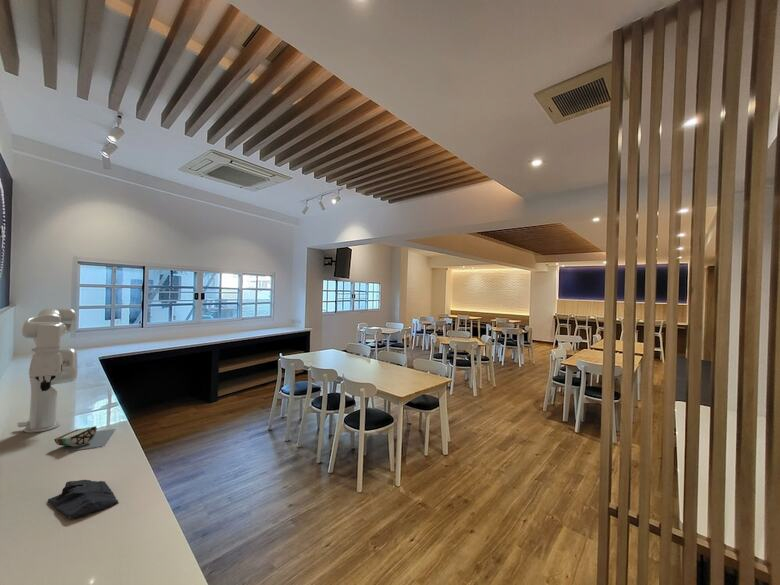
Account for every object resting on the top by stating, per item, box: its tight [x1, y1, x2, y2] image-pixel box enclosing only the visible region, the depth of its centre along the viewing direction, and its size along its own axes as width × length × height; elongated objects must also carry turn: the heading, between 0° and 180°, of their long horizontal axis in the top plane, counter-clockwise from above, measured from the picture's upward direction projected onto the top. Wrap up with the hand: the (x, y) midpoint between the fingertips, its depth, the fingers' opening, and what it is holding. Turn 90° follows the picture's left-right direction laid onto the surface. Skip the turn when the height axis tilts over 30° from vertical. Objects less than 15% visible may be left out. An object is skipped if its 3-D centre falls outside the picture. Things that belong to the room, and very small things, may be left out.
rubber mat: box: [67, 428, 116, 453], centre depth 157 cm, size 12×22×1 cm, turn 30°
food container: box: [53, 425, 98, 447], centre depth 151 cm, size 12×6×10 cm
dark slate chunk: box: [47, 479, 119, 519], centre depth 111 cm, size 15×22×5 cm
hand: (45, 390), depth 150 cm, fingers closed
